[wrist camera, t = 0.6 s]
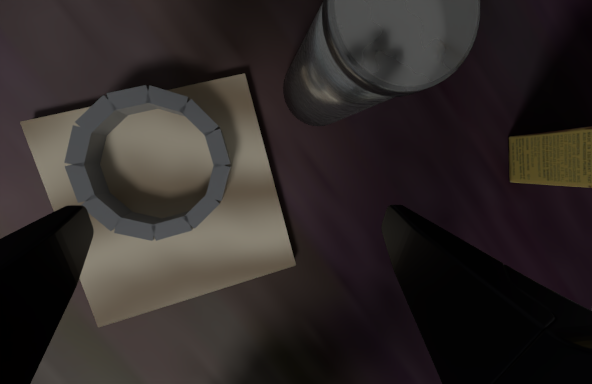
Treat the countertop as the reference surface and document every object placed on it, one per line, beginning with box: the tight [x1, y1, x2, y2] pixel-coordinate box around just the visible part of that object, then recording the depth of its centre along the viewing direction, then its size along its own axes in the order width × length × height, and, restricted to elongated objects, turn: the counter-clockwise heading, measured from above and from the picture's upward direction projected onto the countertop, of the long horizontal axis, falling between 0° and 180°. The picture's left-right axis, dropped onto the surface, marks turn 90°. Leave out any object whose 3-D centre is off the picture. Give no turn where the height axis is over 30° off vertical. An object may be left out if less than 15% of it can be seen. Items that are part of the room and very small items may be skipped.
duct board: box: [20, 73, 296, 328], centre depth 21 cm, size 14×14×1 cm
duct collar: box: [64, 85, 231, 241], centre depth 19 cm, size 9×9×2 cm
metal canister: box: [283, 0, 480, 126], centre depth 16 cm, size 6×6×12 cm
